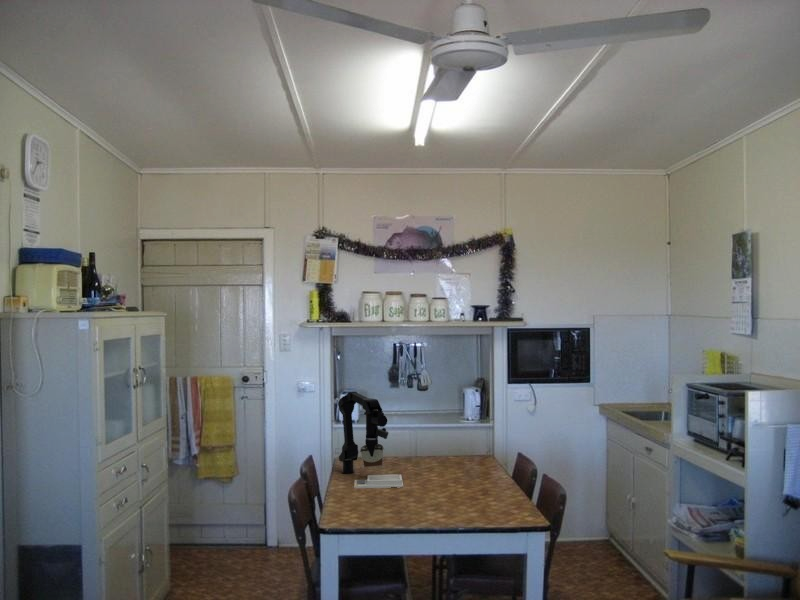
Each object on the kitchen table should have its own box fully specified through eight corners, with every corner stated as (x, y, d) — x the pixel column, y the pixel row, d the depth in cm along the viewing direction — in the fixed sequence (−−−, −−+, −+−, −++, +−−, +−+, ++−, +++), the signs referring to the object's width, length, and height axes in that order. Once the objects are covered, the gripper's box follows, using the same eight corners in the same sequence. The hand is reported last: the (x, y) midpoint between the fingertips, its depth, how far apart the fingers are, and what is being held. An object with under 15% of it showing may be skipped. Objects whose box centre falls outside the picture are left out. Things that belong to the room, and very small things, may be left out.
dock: (354, 481, 326) (354, 475, 326) (402, 481, 327) (402, 474, 327) (354, 488, 314) (354, 481, 314) (403, 487, 315) (403, 480, 315)
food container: (385, 460, 331) (383, 442, 330) (385, 465, 325) (383, 446, 324) (361, 462, 331) (359, 444, 329) (361, 467, 325) (359, 448, 323)
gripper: (387, 427, 318) (388, 458, 318) (387, 421, 337) (387, 451, 336) (365, 427, 318) (365, 459, 317) (365, 421, 336) (366, 451, 336)
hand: (371, 455), depth 327 cm, fingers closed on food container, 6 cm apart
